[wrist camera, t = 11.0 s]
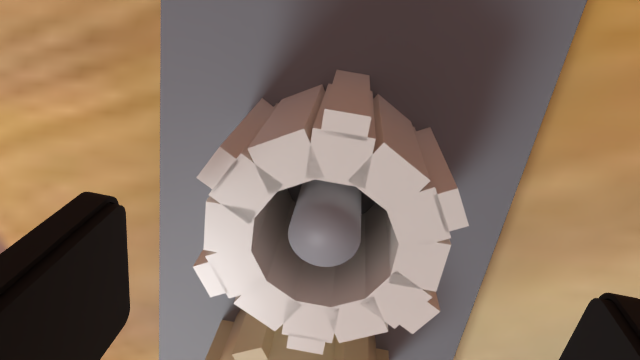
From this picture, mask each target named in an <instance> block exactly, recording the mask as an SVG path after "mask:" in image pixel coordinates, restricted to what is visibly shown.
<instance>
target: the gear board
mask: <svg viewBox="0 0 640 360" xmlns="http://www.w3.org/2000/svg"><path fill="white" fill-rule="evenodd" d="M586 2H587V0H161V74H160V291H159V360H453V358H454V356H455V353H456V350H457V348H458V345H459V342H460V340H461V337H462V334H463V332H464V329H465V326H466V324H467V321H468V318H469V316H470V313H471V310H472V307H473V305H474V302H475V299H476V297H477V294H478V291H479V289H480V286H481V283H482V281H483V278H484V275H485V273H486V270H487V267H488V265H489V262H490V259H491V257H492V254H493V251H494V249H495V246H496V243H497V241H498V238H499V235H500V232H501V230H502V227H503V224H504V222H505V219H506V216H507V214H508V211H509V208H510V206H511V203H512V200H513V198H514V195H515V192H516V190H517V187H518V184H519V182H520V179H521V176H522V174H523V171H524V168H525V166H526V163H527V160H528V157H529V155H530V152H531V149H532V147H533V144H534V141H535V139H536V136H537V133H538V131H539V128H540V125H541V123H542V120H543V117H544V115H545V112H546V109H547V107H548V104H549V101H550V99H551V96H552V93H553V91H554V88H555V85H556V82H557V80H558V77H559V74H560V72H561V69H562V66H563V64H564V61H565V58H566V56H567V53H568V50H569V48H570V45H571V42H572V40H573V37H574V34H575V32H576V29H577V26H578V24H579V21H580V18H581V16H582V13H583V10H584V7H585V5H586ZM336 70H342V71H347V72H353V73H359V74H365V75H369V77H370V91H372V92H373V99H374V98H375V96H376V95H377V94H379V95H380V96H381V97H383V98H384V99H385V100H386V101H387V102H388V103H390V104H391V105H392V106H393V107H394V108H396V109H397V110H398V111H399V112H400V113H401V114H403V115H404V116H405V117H406V118H407V119H409V120H410V121H411V123H412V126H413V127H415V130H416V131H419V130H422V129H425V128H428V127H430V128H431V130H432V132H433V134H434V136H435V139H436V141H437V143H438V145H439V148H440V150H441V152H442V154H443V156H444V159H445V161H446V163H447V165H448V168H449V170H450V172H451V174H452V176H453V179H454V181H455V183H456V185H457V187H458V190H459V194H460V197H461V200H462V204H463V207H464V211H465V214H466V217H467V221H468V224H469V226H467V227H464V228H460V229H457V230H453V231H449V232H450V235H451V238H450V239H449V240H450V243H451V248H450V251H449V254H448V257H447V260H446V263H445V266H444V269H443V272H442V276H441V279H440V282H439V285H438V288H437V291H436V294H437V299H438V303H439V307H440V312H439V313H438V314H437V315H436V316H434V317H433V318H432V319H431V320H430V321H428V322H427V323H426V324H425V325H423V326H422V327H421V328H420V329H418V330H417V331H416V332H415V333H414V334H412V333H410V332H409V331H407V330H406V329H405V328H403V327H402V326H400V325H399V326H397V327H396V328H395V329H394V328H393V327H391V326H390V325H389V324H388V332H385V333H381V334H377V335H372V336H368V337H364V338H360V339H355V340H351V341H347V342H342V343H339V342H338V340H337V338H336V336H335V334H334V336H333V341H332V343H327V342H325V346H324V351H323V355H321V354H316V353H310V352H305V351H299V350H294V349H289V348H286V347H287V341H288V335H283V334H282V329H283V324H282V325H281V326H280V327H279V328H278V329H277V330H276V331H274V330H272V329H271V328H269V327H268V326H266V325H265V324H263V323H262V322H260V321H259V320H257V319H256V318H254V317H253V316H251V315H250V314H248V313H247V312H245V311H244V310H242V309H241V308H239V307H238V306H236V305H235V304H233V303H234V301H235V299H236V297H233V298H228V296H227V295H226V293H225V294H221V295H217V296H214V297H210V296H209V294H208V292H207V291H206V289H205V287H204V285H203V284H202V282H201V280H200V279H199V277H198V275H197V273H196V272H195V270H194V268H193V265H194V264H195V262H196V260H197V259H198V257H199V255H200V254H201V252H202V250H203V248H204V229H205V209H206V201H207V199H208V198H209V193H210V192H211V190H212V189H211V188H210V187H208V186H207V185H205V184H204V183H203V182H201V181H200V180H199V179H197V178H196V177H197V176H198V175H199V173H200V172H201V171H202V169H203V168H204V167H205V165H206V164H207V163H208V161H209V160H210V159H211V157H212V156H213V155H214V153H215V152H216V151H217V149H218V148H219V147H220V145H221V144H222V143H223V142H224V141H225V140H226V139H227V137H228V136H229V135H230V134H231V133H232V132H233V131H234V130H235V128H236V127H237V126H238V125H239V124H240V123H241V122H242V120H243V119H244V118H245V117H246V116H247V115H248V114H249V112H250V111H251V110H252V109H253V108H254V107H255V106H256V104H257V103H258V102H259V101H260V100H261V99H262V98H263V99H264V100H265V101H267V102H268V103H269V104H271V105H272V106H273V107H274V106H275V105H276V103H278V104H279V102H280V101H281V100H282V99H284V98H286V97H289V96H292V95H295V94H297V93H300V92H303V91H305V90H308V89H311V88H313V87H316V86H319V85H321V84H322V85H323V87H324V90H325V92H326V89H327V86H328V84H332V83H333V80H334V77H335V73H336ZM287 189H288V191H289V193H290V196H291V198H292V200H293V201H294V202H295V203H296V205H295V209H294V212H293V215H292V218H291V222H290V225H289V229H288V239H289V243H290V245H291V247H292V249H293V251H294V252H295V253H296V254H297V255H298V256H299V257H300V258H301V259H302V260H304V261H306V262H308V263H310V264H312V265H315V266H321V267H332V266H337V265H340V264H343V263H345V262H346V261H348V260H349V259H350V258H352V257H353V256H354V254H355V253H356V252H357V250H358V248H359V245H360V241H361V214H364V213H366V212H367V211H368V210H369V209H370V208H371V207H372V206H373V205H374V204H375V203H376V202H375V201H373V200H372V199H371V198H370V197H368V196H367V195H366V194H364V193H363V192H362V191H361V190H359V189H358V188H357V187H355V186H350V185H344V184H338V183H332V182H327V181H321V180H311V181H308V182H305V183H302V184H299V185H296V186H293V187H290V188H287Z"/></svg>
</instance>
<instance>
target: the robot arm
mask: <svg viewBox="0 0 640 360" xmlns="http://www.w3.org/2000/svg"><path fill="white" fill-rule="evenodd" d="M129 312H130V297H129V275H128V253H127V231H126V212H125V208H124V207H123V206H121V205H119V204H118V201H117V199H116V198H115V197H112V196H107V195H102V194H97V193H92V192H83V193H81V194H80V195H78V196H77V197H76V198H74V199H73V200H72V201H70V202H69V203H68V204H66V205H65V206H64V207H62V208H61V209H60V210H58V211H57V212H56V213H54V214H53V215H52V216H50V217H49V218H48V219H46V220H45V221H44V222H42V223H41V224H40V225H38V226H37V227H36V228H34V229H33V230H32V231H30V232H29V233H28V234H26V235H25V236H24V237H22V238H21V239H20V240H18V241H17V242H16V243H14V244H13V245H12V246H10V247H9V248H8V249H6V250H5V251H4V252H2V253H1V254H0V360H100V359H101V357H102V356H103V355H104V353H105V352H106V350H107V349H108V348H109V346H110V345H111V343H112V342H113V341H114V339H115V338H116V336H117V335H118V334H119V332H120V331H121V329H122V328H123V327H124V325H125V323H126V321H127V319H128V316H129ZM559 360H640V299H638V298H633V297H628V296H623V295H618V294H613V293H604V294H603V295H601V296H600V297H599V298H594V299H593V300H591V301H590V303H589V304H588V306H587V308H586V310H585V312H584V314H583V315H582V317H581V319H580V321H579V323H578V325H577V327H576V329H575V331H574V332H573V334H572V336H571V338H570V340H569V342H568V344H567V346H566V347H565V349H564V351H563V353H562V355H561V357H560V359H559Z"/></svg>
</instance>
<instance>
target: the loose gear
mask: <svg viewBox="0 0 640 360" xmlns="http://www.w3.org/2000/svg"><path fill="white" fill-rule="evenodd" d="M196 178H197V179H199V180H200V181H201V182H203V183H204V184H205V185H207V186H208V187H210V188H211V189H212V190H211V192H210V193H209V198H208V199H207V201H206V209H205V229H204V248H203V250H202V252H201V254H200V255H199V257H198V259H197V260H196V262H195V264H194V265H193V268H194V270H195V272H196V273H197V275H198V277H199V279H200V280H201V282H202V284H203V285H204V287H205V289H206V291H207V292H208V294H209V296H210V297H214V296H217V295H221V294H225V293H226V295H227V296H228V298H233V297H236V299H235V301H234V303H233V304H235V305H236V306H238V307H239V308H241V309H242V310H244V311H245V312H247V313H248V314H250V315H251V316H253V317H254V318H256V319H257V320H259V321H260V322H262V323H263V324H265V325H266V326H268V327H269V328H271V329H272V330H274V331H276V330H277V329H278V328H279V327H280V326H281V325H282V324H283V329H282V334H283V335H288V341H287V347H286V348H289V349H294V350H299V351H305V352H310V353H316V354H321V355H323V351H324V346H325V342H327V343H332V341H333V336H334V334H335V336H336V338H337V340H338V342H339V343H342V342H347V341H351V340H355V339H360V338H364V337H368V336H372V335H377V334H381V333H385V332H388V324H389V325H390V326H391V327H393V328H394V329H395V328H396V327H397V326H399V325H400V326H402V327H403V328H405V329H406V330H407V331H409V332H410V333H412V334H414V333H415V332H416V331H417V330H418V329H420V328H421V327H422V326H423V325H425V324H426V323H427V322H428V321H430V320H431V319H432V318H433V317H434V316H436V315H437V314H438V313H439V312H440V307H439V303H438V299H437V294H436V291H437V288H438V285H439V282H440V279H441V276H442V272H443V269H444V266H445V263H446V260H447V257H448V254H449V251H450V248H451V243H450V240H449V239H450V238H451V235H450V232H449V231H453V230H457V229H460V228H464V227H467V226H469V224H468V221H467V217H466V214H465V211H464V207H463V204H462V200H461V197H460V194H459V190H458V187H457V185H456V183H455V181H454V179H453V176H452V174H451V172H450V170H449V168H448V165H447V163H446V161H445V159H444V156H443V154H442V152H441V150H440V148H439V145H438V143H437V141H436V139H435V136H434V134H433V132H432V130H431V128H430V127H428V128H425V129H422V130H419V131H416V130H415V127H413V126H412V123H411V121H410V120H409V119H407V118H406V117H405V116H404V115H403V114H401V113H400V112H399V111H398V110H397V109H396V108H394V107H393V106H392V105H391V104H390V103H388V102H387V101H386V100H385V99H384V98H383V97H381V96H380V95H379V94H377V95H376V96H375V98H374V99H373V92H372V91H370V77H369V75H365V74H359V73H353V72H347V71H342V70H336V73H335V77H334V80H333V83H332V84H328V86H327V89H326V92H325V90H324V87H323V85H322V84H321V85H319V86H316V87H313V88H311V89H308V90H305V91H303V92H300V93H297V94H295V95H292V96H289V97H286V98H284V99H282V100H281V101H280V102H279V104H278V103H276V105H275V106H274V107H273V106H272V105H271V104H269V103H268V102H267V101H265V100H264V99H263V98H262V99H261V100H260V101H259V102H258V103H257V104H256V106H255V107H254V108H253V109H252V110H251V111H250V112H249V114H248V115H247V116H246V117H245V118H244V119H243V120H242V122H241V123H240V124H239V125H238V126H237V127H236V128H235V130H234V131H233V132H232V133H231V134H230V135H229V136H228V137H227V139H226V140H225V141H224V142H223V143H222V144H221V145H220V147H219V148H218V149H217V151H216V152H215V153H214V155H213V156H212V157H211V159H210V160H209V161H208V163H207V164H206V165H205V167H204V168H203V169H202V171H201V172H200V173H199V175H198V176H197V177H196ZM311 180H321V181H327V182H332V183H338V184H344V185H350V186H355V187H357V188H358V189H359V190H361V191H362V192H363V193H364V194H366V195H367V196H368V197H370V198H371V199H372V200H373V201H375V202H376V203H375V204H374V205H373V206H372V207H371V208H370V209H369V210H368V211H367V212H366V213H364V214H361V241H360V245H359V248H358V250H357V252H356V253H355V254H354V256H353V257H352V258H350V259H349V260H348V261H346V262H345V263H343V264H340V265H337V266H332V267H321V266H315V265H312V264H310V263H308V262H306V261H304V260H302V259H301V258H300V257H299V256H298V255H297V254H296V253H295V252H294V251H293V249H292V247H291V245H290V243H289V239H288V229H289V225H290V222H291V218H292V215H293V212H294V209H295V205H296V203H295V202H294V201H293V200H292V198H291V196H290V193H289V191H288V189H287V188H290V187H293V186H296V185H299V184H302V183H305V182H308V181H311Z"/></svg>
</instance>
